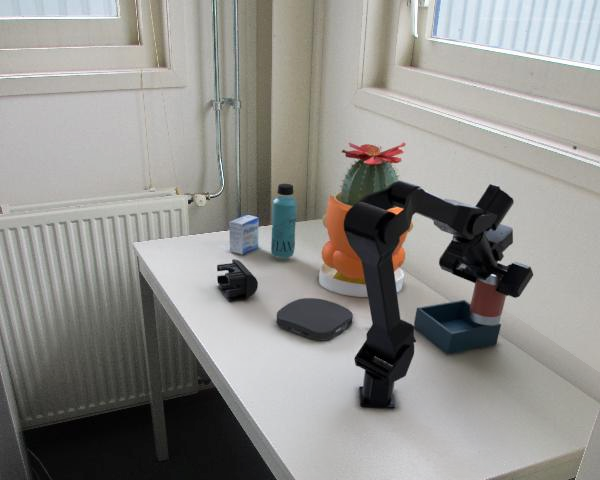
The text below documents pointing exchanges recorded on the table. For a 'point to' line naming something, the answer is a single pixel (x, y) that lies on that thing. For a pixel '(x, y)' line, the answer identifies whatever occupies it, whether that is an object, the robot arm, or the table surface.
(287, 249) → the beverage bottle
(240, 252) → the medicine box
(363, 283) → the potted cactus
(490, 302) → the tin can
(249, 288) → the end cap
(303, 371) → the table surface
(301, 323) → the media streaming box
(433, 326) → the tote
